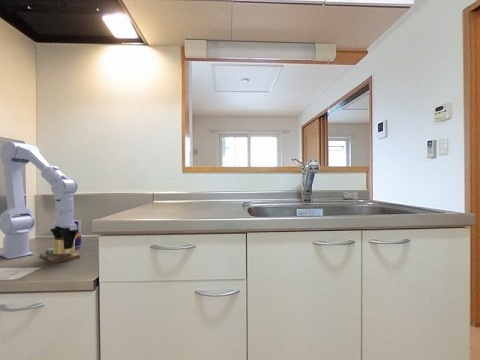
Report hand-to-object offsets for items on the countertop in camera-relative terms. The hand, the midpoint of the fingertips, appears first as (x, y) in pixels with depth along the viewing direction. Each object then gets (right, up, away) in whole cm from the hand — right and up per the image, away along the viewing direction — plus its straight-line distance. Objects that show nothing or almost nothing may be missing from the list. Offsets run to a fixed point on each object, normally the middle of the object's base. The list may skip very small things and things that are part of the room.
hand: (64, 247), depth 101 cm
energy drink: (-6, -5, +16) cm, 18 cm away
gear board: (-3, -4, +2) cm, 5 cm away
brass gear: (0, -2, 0) cm, 2 cm away
